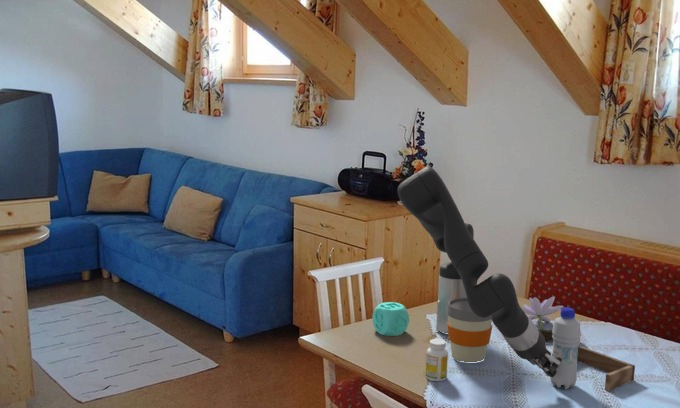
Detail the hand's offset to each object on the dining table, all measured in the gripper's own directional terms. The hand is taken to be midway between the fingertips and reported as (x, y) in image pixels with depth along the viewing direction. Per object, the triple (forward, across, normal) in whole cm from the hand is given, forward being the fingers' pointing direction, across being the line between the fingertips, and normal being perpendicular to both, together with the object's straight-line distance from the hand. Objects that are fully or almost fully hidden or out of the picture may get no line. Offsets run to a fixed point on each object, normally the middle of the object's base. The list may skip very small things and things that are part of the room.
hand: (552, 373), depth 170 cm
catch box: (+15, 0, +9) cm, 17 cm away
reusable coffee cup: (+2, -26, -4) cm, 27 cm away
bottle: (+6, 0, 0) cm, 6 cm away
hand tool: (+22, -22, +15) cm, 34 cm away
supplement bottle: (-10, -21, -16) cm, 28 cm away
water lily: (+29, -32, +22) cm, 49 cm away
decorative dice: (-1, -54, -8) cm, 54 cm away
